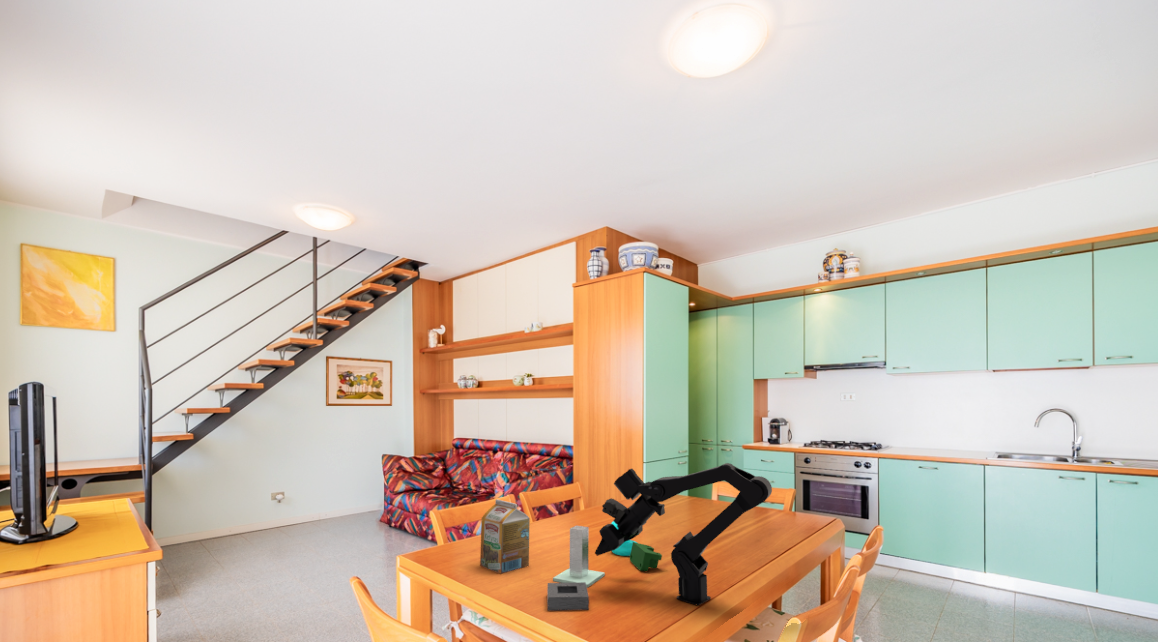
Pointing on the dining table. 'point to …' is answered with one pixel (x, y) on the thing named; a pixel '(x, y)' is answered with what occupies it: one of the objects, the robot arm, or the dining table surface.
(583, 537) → the peg
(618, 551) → the donuts
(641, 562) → the clamp
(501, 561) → the milk carton
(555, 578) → the pad
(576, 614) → the dining table surface
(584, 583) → the socket block
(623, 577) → the dining table surface
